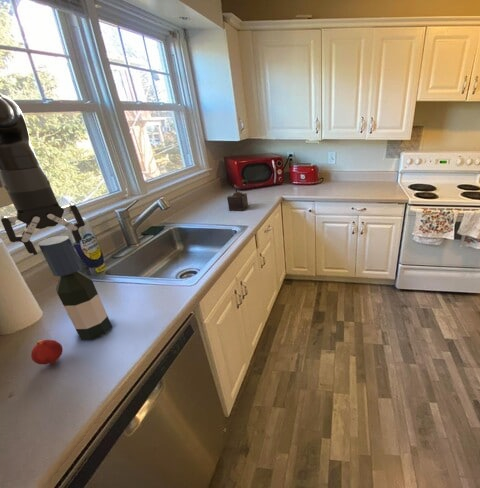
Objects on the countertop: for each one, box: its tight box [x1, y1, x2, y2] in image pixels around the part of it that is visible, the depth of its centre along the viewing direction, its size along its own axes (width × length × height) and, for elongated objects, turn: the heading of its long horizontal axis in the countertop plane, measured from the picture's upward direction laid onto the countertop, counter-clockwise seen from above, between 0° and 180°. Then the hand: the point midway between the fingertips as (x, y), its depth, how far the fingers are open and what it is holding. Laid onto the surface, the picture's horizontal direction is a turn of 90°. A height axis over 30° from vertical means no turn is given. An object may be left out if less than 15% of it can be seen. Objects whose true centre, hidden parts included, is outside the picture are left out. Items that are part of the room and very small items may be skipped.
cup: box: [37, 235, 83, 277], centre depth 74 cm, size 6×6×9 cm
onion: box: [30, 339, 64, 365], centre depth 73 cm, size 6×6×8 cm
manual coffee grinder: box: [226, 179, 249, 212], centre depth 190 cm, size 16×11×18 cm
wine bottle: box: [55, 270, 113, 341], centre depth 79 cm, size 8×8×30 cm
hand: (57, 248), depth 73 cm, fingers open, 8 cm apart
